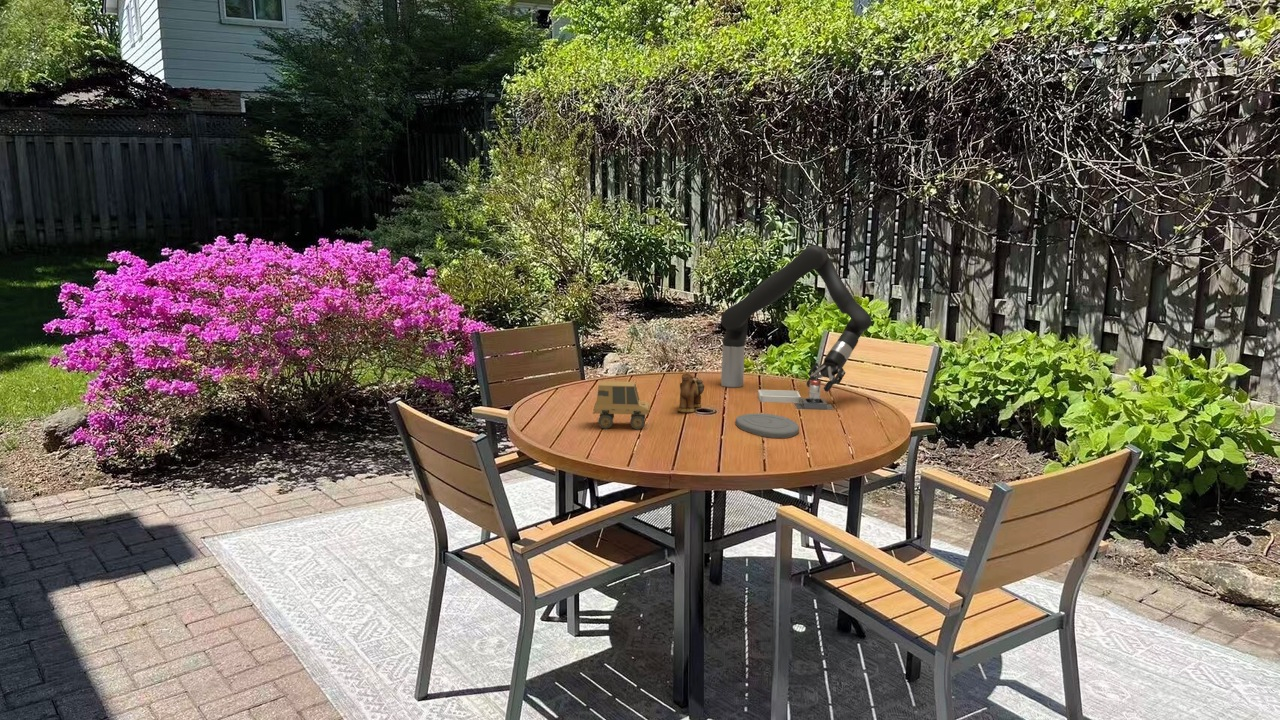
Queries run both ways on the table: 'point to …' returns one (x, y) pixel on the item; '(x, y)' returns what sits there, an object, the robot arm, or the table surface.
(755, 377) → the table surface
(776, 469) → the table surface
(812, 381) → the pin
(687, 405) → the figurine
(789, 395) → the tray
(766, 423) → the frisbee
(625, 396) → the toy car
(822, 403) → the hitch
